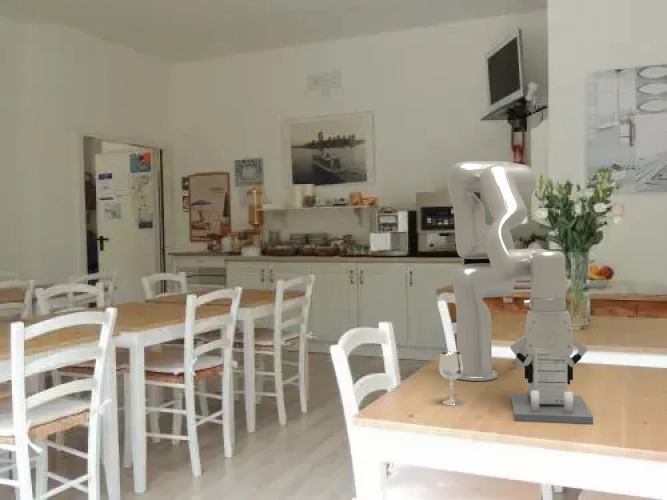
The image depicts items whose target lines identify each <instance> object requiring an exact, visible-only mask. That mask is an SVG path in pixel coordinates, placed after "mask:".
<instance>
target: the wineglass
mask: <svg viewBox="0 0 667 500" xmlns="http://www.w3.org/2000/svg"><path fill="white" fill-rule="evenodd" d="M463 369H464V366H463V360H462V356H461V353H460V352H457V351H450V350H449V351H442V352H440V357H439V363H438V370H439V373H440V375H441V377H443V378H444V379H446V380H449V388H450V398H449V399H446V400H443V401H442V404H443V405H446V406H460V405H461V404H462V402H461V401H460V400H456V399H455V398H454V394H453V393H454V392H453V391H454V384H455V382H454V380H457V378H459V377H461V375H462V374H463Z"/></svg>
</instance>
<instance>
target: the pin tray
mask: <svg viewBox="0 0 667 500" xmlns="http://www.w3.org/2000/svg"><path fill="white" fill-rule="evenodd" d="M526 385H527V386H526V389H527V390H526V391H527V393H511V395H510V400H511V405H512V413H513V419H514V421H515V422H529V423H530V422H536V423H557V424H560V423H561V424H578V425H579V424H583V425H586V424H587V425H594V417H593V415H592V412H591V411H590V409H589V407H588V406H587V404H586V403H585V400H584V399H583V397H582V396H581V395H576V394H575V395H574V392H573V391H570V390H567V391H565V392H564V404H539V391H538V390H531V396H530V395H529V383H528V379H526Z"/></svg>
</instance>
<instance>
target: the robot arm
mask: <svg viewBox="0 0 667 500" xmlns="http://www.w3.org/2000/svg"><path fill="white" fill-rule="evenodd" d="M536 189H537V176H536V174H535V173H534V170H533V169H532V168H531V167H530V166H528V165H526V164H522V163H518V162H517V163H515V162H511V161H505V160H503V161H500V160H497V161H495V160H492V161H491V160H487V161H486V160H485V161H484V160H470V161H469V160H468V161H462V162H457V163H455V164H454V165H452V167H451V168H450V170H449V172H448V175H447V190H448V194H449V197H450V201H451V203H452V207H453V216H454V217H453V218H454V220H453V221H454V235H455V248H456V252H457V254H458V256H459V257H460V258H463V259H467V260H468V259H469V260H470V259H471V260H479V259H481V260H482V259H484V260H485V259H488V260H489V262H488V263H483V262H482V263H467V264H461V265H459V266H458V267H456V269H454V271H453V272H452V278H451V281H452V282H451V283H452V289H453V293H454V299H455V316H456V317H455V319H456V321H455V323H456V352H460V353H461V356H462V360H463V366H464V369H463V374H462V375H461V377H459V378H457V379H458V380H462V381H470V382H471V381H473V382H485V381H492V380H495V379H496V378H498V377H499V376H498V374H499V373H498V372H497V371H496V370H494V369H493V367H492V365H493V363H492V359H493V357H492V315H491V311H490V309H489V307H488V305H487V304H486V303H485V301H484V298H499V297H507V296H509V295H511V294H512V293H513V292H514V290H515V287H516V286H515V285H516V282H524V281H527V282H530V298H529V299H524V300H523V306H524V307H528V308H530V310H527V314H526V321H525V330H524V336H525V337H523V336H522V337H523V338H522V337H521V338H522V339H520V340H519V341H517V340H516V341H517V342H516V341H515V343H513V344H511V345H510V350H511V351H512V353H513V354H514V355H515V357H516V356H517V358H518V359H519V360H520V361H521V362H522V363H523V364H524V365H525V367H524V379H525V380H527V379H528V383H532V366H531V364H530V362H531V361H532V359H533V356H534V349H544V350H547V351H548V352H549V356H559V357H567V386H568V385H571V381H573V380H574V367H575V365H576V364H577V363H578V362H580V361H581V359H582V358H583V357H584V355H585V354H586V353H587V352H588V348H587V346H585V345H583V344H582V343H581V342H580V341H577V340H576V339H575V338H574V337H573V328H572V325H573V324H572V319H571V314H570V311H567V310H566V300H567V299H566V255H565V254H564V252H562V251H558V250H548V249H544V248H515V247H514V239H513V236H512V233H511V231H510V230H512V229H514V228H516V227H518V226H519V225H520V224H521V223H523V222H524V221H525V219H526V218H527V217H528V209H527V206H526V204H525V202H524V200H523V198H528V197H530V196H532V195H533V194H534V192H535V191H536ZM475 193H482V194H483V197H484V199H485V202H486V205H487V207H488V210H489V213H490V215H491V218H492V224H487V223H486V209H485V207H484V205H483V202H481V200H480V198H479V197H478V196H477V195H476V194H475ZM524 344H525V349H526V353H527V355H526V356H524V355H523V354H522V353H521V352H520V351H519V350H518V349H519V348H520V347H521V346H523V345H524ZM574 347H575V348H576V349H577V352H576V353H575V354H574V355H573V352H574ZM572 355H573V356H572ZM457 379H456V380H457Z"/></svg>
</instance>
